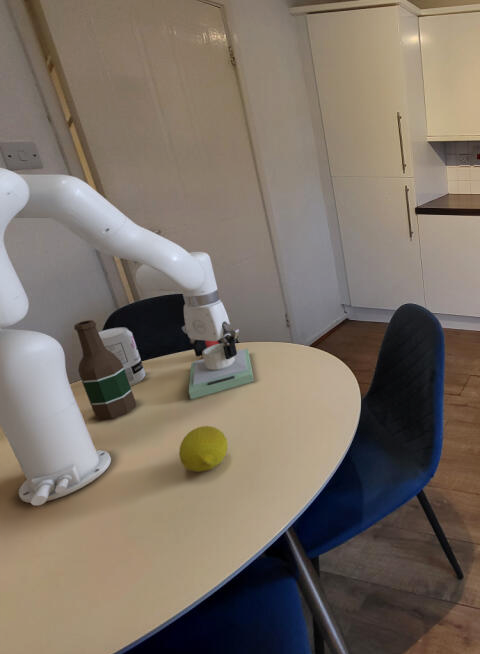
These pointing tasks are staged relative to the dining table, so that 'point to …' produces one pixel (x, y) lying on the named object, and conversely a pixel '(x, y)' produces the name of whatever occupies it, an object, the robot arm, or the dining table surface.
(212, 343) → the onion
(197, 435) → the lemon
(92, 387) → the beer bottle
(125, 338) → the supplement can
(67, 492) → the robot arm
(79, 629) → the dining table surface
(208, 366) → the bowl
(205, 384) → the scale
